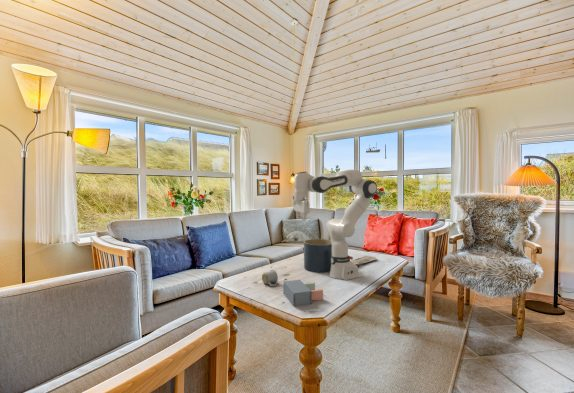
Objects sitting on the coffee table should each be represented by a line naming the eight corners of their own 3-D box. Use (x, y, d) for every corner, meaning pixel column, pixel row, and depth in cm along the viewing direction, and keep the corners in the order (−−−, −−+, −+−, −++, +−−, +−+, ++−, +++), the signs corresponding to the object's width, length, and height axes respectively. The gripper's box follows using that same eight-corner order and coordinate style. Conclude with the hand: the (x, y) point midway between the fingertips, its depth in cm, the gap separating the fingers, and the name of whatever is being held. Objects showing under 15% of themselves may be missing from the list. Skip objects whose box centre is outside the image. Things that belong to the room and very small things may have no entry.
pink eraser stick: (321, 298, 152) (321, 289, 152) (322, 299, 150) (323, 290, 150) (298, 301, 148) (298, 292, 147) (299, 302, 146) (299, 293, 146)
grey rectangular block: (300, 291, 163) (300, 279, 162) (312, 303, 146) (312, 290, 145) (283, 293, 159) (283, 281, 159) (293, 306, 142) (293, 293, 142)
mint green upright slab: (313, 290, 162) (314, 282, 162) (314, 291, 161) (314, 283, 161) (291, 293, 158) (291, 284, 158) (292, 294, 157) (292, 285, 156)
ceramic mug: (261, 282, 176) (261, 271, 176) (271, 280, 181) (271, 268, 181) (270, 288, 168) (270, 275, 168) (280, 285, 173) (281, 273, 172)
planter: (332, 264, 217) (332, 239, 216) (334, 273, 195) (334, 245, 194) (304, 263, 219) (304, 238, 218) (303, 272, 197) (303, 244, 196)
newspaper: (365, 257, 239) (365, 253, 238) (378, 260, 230) (378, 256, 229) (341, 266, 214) (341, 261, 214) (355, 269, 205) (355, 264, 205)
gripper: (312, 198, 164) (312, 221, 165) (300, 196, 183) (300, 217, 184) (302, 198, 162) (302, 221, 163) (291, 196, 182) (291, 217, 182)
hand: (301, 219), depth 174 cm, fingers open, 8 cm apart
